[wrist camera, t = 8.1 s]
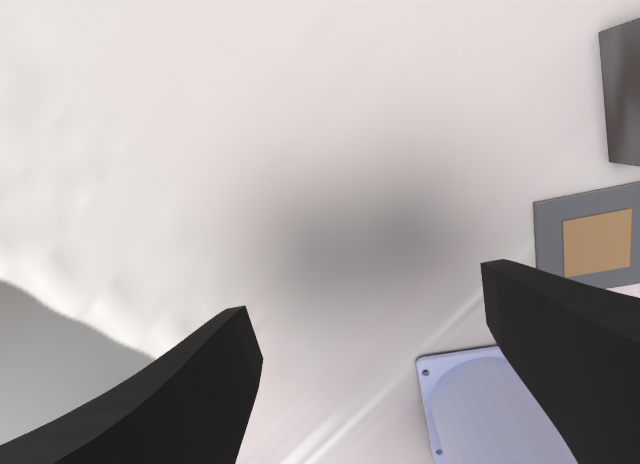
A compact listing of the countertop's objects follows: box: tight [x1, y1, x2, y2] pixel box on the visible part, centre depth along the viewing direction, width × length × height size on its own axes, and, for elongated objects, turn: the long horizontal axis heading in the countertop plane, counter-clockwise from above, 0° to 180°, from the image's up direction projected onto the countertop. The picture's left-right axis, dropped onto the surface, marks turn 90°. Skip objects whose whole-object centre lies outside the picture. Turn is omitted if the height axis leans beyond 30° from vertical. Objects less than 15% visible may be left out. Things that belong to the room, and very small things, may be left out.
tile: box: [534, 182, 640, 289], centre depth 19 cm, size 6×6×1 cm
